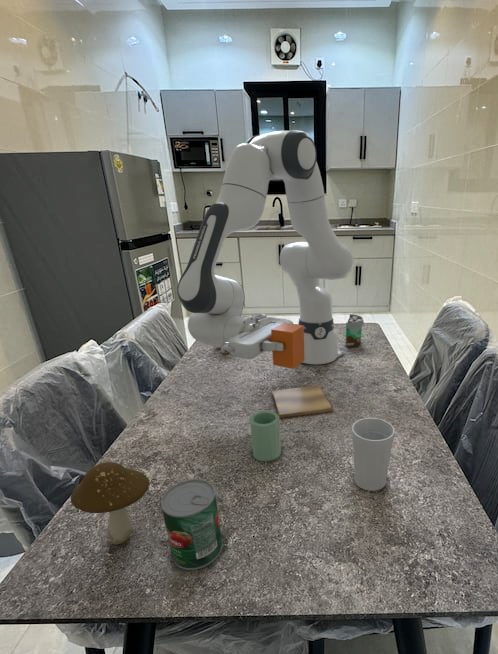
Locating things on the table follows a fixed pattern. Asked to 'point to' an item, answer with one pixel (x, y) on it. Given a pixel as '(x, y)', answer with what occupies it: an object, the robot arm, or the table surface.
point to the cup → (371, 452)
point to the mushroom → (111, 496)
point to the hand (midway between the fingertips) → (291, 341)
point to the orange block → (289, 345)
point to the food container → (354, 330)
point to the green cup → (265, 435)
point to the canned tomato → (192, 523)
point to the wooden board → (301, 401)
